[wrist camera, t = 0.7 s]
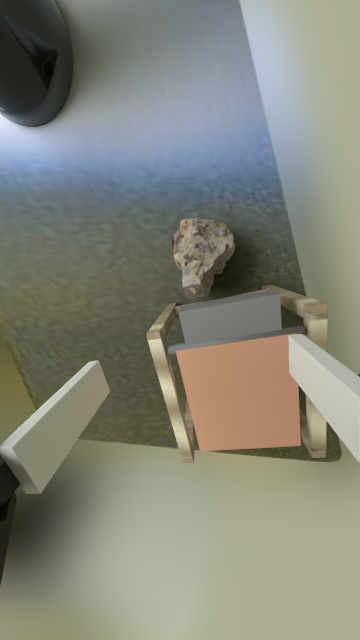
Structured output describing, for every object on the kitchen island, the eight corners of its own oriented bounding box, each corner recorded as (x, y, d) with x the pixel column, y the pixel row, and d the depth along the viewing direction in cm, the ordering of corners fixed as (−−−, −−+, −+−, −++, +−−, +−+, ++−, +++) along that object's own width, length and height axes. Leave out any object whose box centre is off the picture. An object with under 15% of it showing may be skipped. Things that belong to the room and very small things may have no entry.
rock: (230, 237, 32) (212, 185, 24) (256, 292, 27) (245, 251, 19) (184, 263, 35) (154, 225, 27) (201, 315, 30) (169, 290, 22)
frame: (168, 304, 34) (146, 334, 20) (270, 284, 31) (327, 303, 17) (189, 392, 39) (183, 463, 25) (278, 382, 36) (325, 457, 22)
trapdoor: (164, 310, 22) (159, 316, 19) (290, 286, 20) (303, 290, 17) (195, 433, 27) (194, 451, 25) (296, 426, 25) (307, 445, 22)
